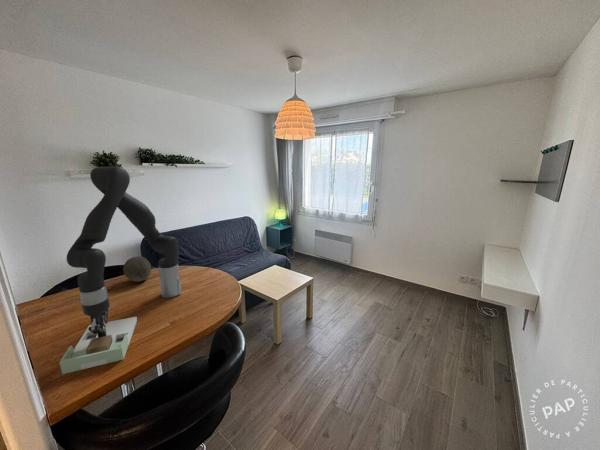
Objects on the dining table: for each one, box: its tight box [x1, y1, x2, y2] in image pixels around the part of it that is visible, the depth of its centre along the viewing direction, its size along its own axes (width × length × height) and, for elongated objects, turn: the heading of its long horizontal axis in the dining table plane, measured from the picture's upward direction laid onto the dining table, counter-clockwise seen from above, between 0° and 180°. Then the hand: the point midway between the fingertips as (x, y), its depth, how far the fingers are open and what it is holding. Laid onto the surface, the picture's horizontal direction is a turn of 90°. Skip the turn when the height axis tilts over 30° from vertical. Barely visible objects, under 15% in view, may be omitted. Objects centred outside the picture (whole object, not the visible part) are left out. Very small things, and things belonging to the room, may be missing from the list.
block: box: [86, 335, 113, 355], centre depth 87 cm, size 6×6×3 cm
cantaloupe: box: [122, 255, 152, 283], centre depth 140 cm, size 14×14×15 cm
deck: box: [59, 316, 138, 375], centre depth 92 cm, size 17×24×5 cm
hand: (102, 338), depth 91 cm, fingers closed
